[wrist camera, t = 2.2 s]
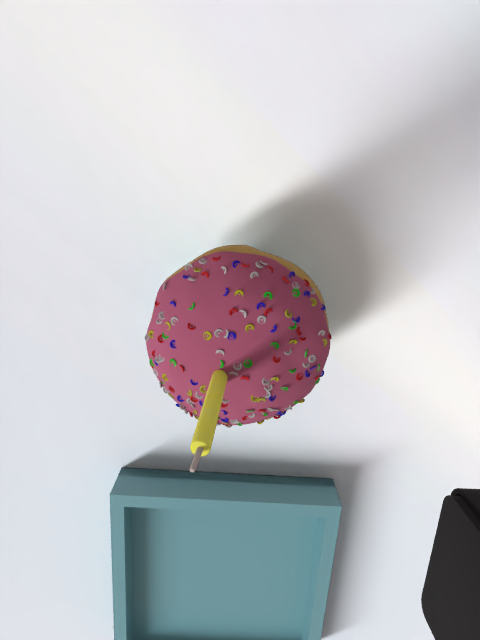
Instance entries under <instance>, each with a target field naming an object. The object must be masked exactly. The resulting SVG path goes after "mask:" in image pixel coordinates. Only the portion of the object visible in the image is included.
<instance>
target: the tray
mask: <svg viewBox="0 0 480 640" xmlns="http://www.w3.org/2000/svg"><path fill="white" fill-rule="evenodd" d="M341 509H342V506H341V503H340V500H339V497H338V494H337V491H336V488H335V485H334V482H333V479H325V478H306V477H288V476H269V475H250V474H231V473H213V472H190V471H175V470H156V469H137V468H121V470H120V473H119V475H118V477H117V480H116V482H115V484H114V486H113V489H112V491H111V493H110V516H111V548H112V581H113V613H114V640H320V639H321V633H322V627H323V621H324V615H325V608H326V602H327V596H328V590H329V584H330V577H331V571H332V565H333V559H334V553H335V546H336V540H337V534H338V528H339V522H340V515H341Z"/></svg>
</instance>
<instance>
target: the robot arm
mask: <svg viewBox="0 0 480 640" xmlns="http://www.w3.org/2000/svg"><path fill="white" fill-rule="evenodd" d="M421 601H422V609H423V613H424V616H425V619H426V621H427V623H428V625H429V627H430V629H431V631H432V634H433V636H434V638H435V640H480V489H461V488H457V489H454V490H453V491H452V493H451V496H450V495H449V496H446V497H445V498H444V501H443V505H442V509H441V513H440V518H439V522H438V527H437V531H436V535H435V540H434V544H433V548H432V553H431V557H430V562H429V566H428V570H427V575H426V579H425V583H424V588H423V592H422V598H421Z"/></svg>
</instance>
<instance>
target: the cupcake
mask: <svg viewBox="0 0 480 640" xmlns="http://www.w3.org/2000/svg"><path fill="white" fill-rule="evenodd" d="M330 339H331V335H330V333H329V327H328V320H327V315H326V310H325V305H324V301H323V298H322V296H321V293H320V291H319V289H318V288H317V286H316V285H315V283H314V282H313V281H312V280H311V279H310V277H309V276H308V275H307V274H306V273H305V272H304V271H303V270H301V269H300V268H299V267H297V266H296V265H294V264H292V263H291V262H289V261H287V260H284V259H282V258H280V257H277V256H274V255H271V254H269V253H266V252H263V251H260V250H257V249H255V248H253V247H250V246H246V245H228V246H222V247H218V248H215V249H212V250H210V251H208V252H206V253H204V254H202V255H201V256H199V257H197V258H196V259H194V260H193V261H191V262H189V263H188V264H186V265H185V266H183V267H182V268H181V269H179V270H178V271H176V272H175V273H174V274H172V275H171V276H170V277H168V278H167V279H166V280H165V282H164V283H163V284H162V285H161V287H160V289H159V291H158V294H157V297H156V301H155V306H154V310H153V314H152V319H151V322H150V324H149V327H148V331H147V334H146V336H145V340H146V345H147V351H148V356H149V359H150V365H151V367H152V368H153V371H154V373H155V375H156V376H157V378H158V380H159V381H160V387H161V388H162V386H163V391H164V392H165V393H168V395H169V396H170V397H172V398H173V399H174V400H175V401H176V402H177V403H178V404H176V406H177V407H180V409H182V410H184V411H185V413H186V414H187V413H188V412H189V413H190V415H191V417H193V415H194V417H195V418H196V419H198V423H197V426H196V429H195V433H194V436H193V439H192V442H191V447H190V448H191V451H192V452H193V453H194V457H193V461H192V464H191V466H190V472H195V470H196V469H197V466H198V464H199V460H200V457H201V456H206V455H207V454H209V452H210V450H211V445H212V441H213V437H214V433H215V429H216V425H220V424H223V425H225V426H226V427H228V428H229V427H231V426H232V425H239V426H241V425H243V424H250V423H254V422H257V423H258V424H261V423H263V422H264V419H266V420H268V419H270V418H272V417H274V418H275V419H278V418H280V417H281V416H282V415H284V414H285V413H286V411H287V410H289V409H292V408H291V407H293V406H294V405H295V404H297V403H302V402H304V401H305V400H304V399H303V398H304V397H305V396H306V395H308V394H309V393H310V392H311V390H312V389H313V388H314V386H315V385H316V384H317V383H318V382H319V380H320V378H319V377H322V376H323V375H324V371H323V368H324V365H325V363H326V360H327V357H328V354H329V350H330ZM321 374H322V375H321ZM165 390H166V391H165ZM300 401H301V402H300ZM282 413H283V414H282ZM278 414H279V415H278ZM276 415H277V416H278V417H277V416H276ZM275 416H276V417H275ZM197 417H198V418H197ZM261 420H262V421H261ZM260 421H261V422H260ZM228 425H230V426H228Z"/></svg>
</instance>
